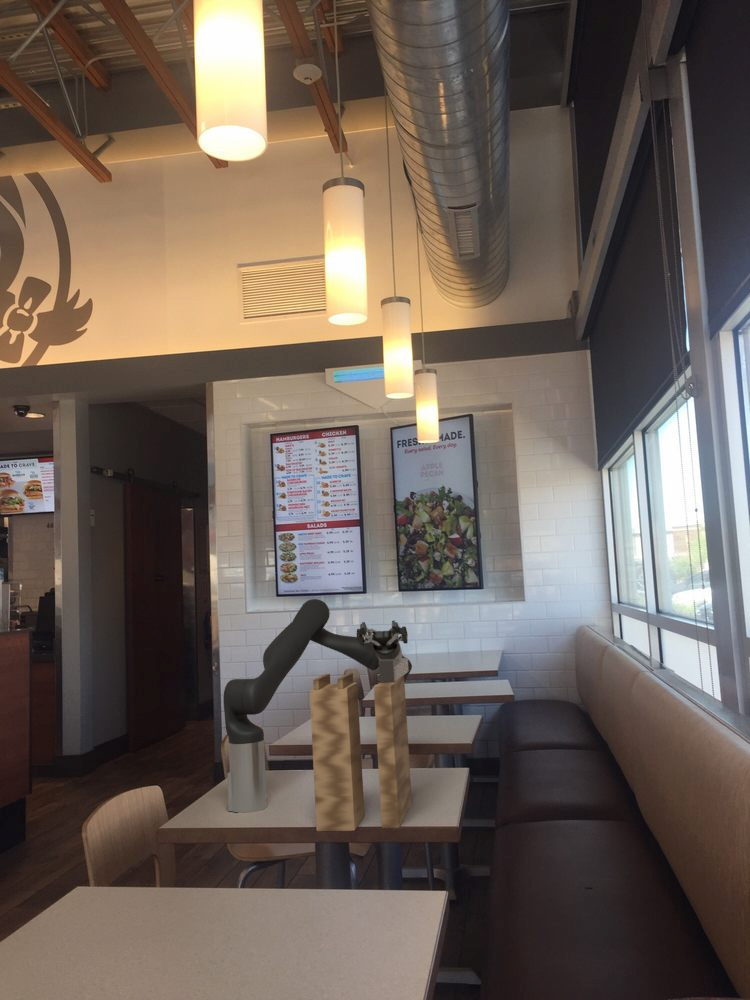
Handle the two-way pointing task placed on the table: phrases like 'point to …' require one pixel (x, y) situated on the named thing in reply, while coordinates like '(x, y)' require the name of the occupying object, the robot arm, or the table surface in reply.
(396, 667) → the grey metal bar
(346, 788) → the stand
